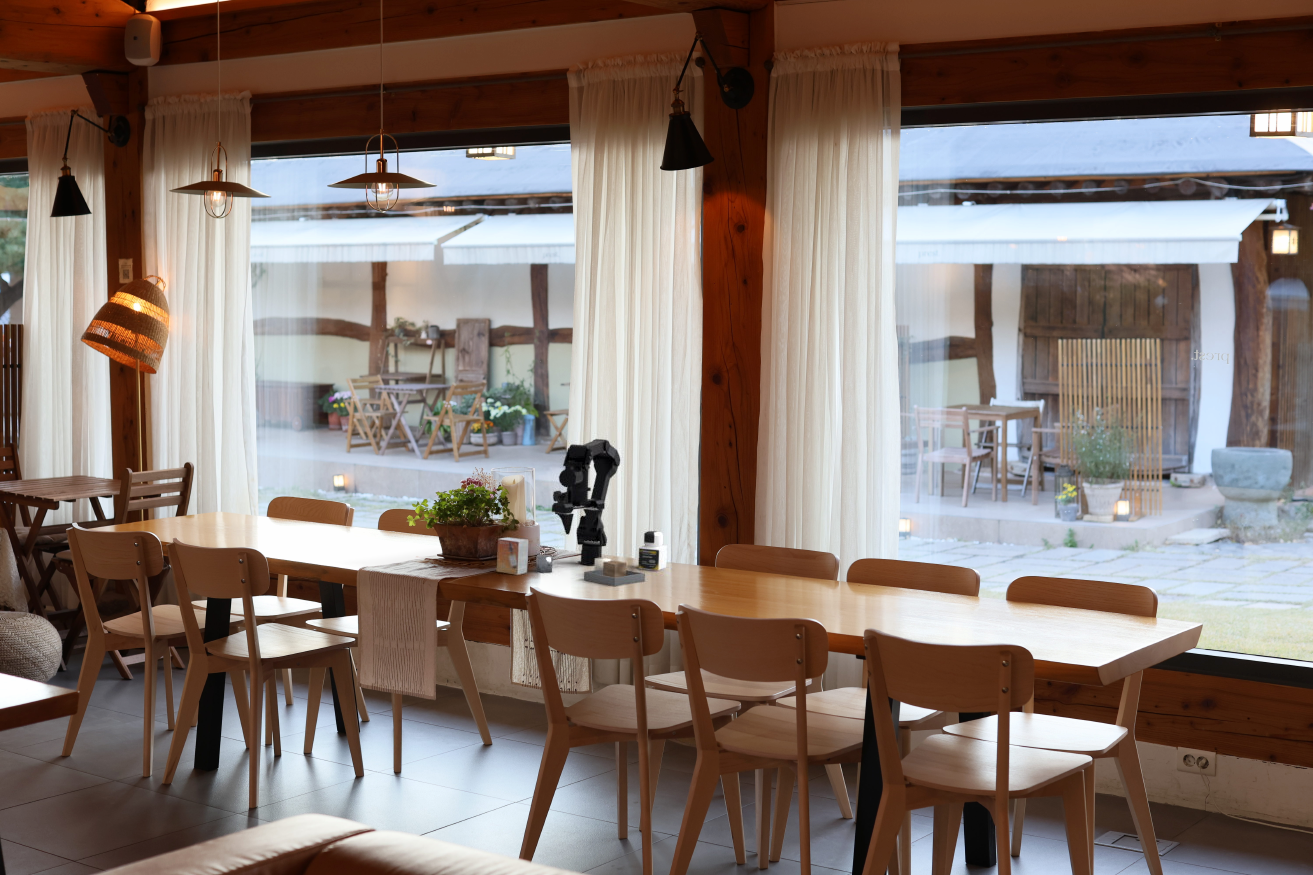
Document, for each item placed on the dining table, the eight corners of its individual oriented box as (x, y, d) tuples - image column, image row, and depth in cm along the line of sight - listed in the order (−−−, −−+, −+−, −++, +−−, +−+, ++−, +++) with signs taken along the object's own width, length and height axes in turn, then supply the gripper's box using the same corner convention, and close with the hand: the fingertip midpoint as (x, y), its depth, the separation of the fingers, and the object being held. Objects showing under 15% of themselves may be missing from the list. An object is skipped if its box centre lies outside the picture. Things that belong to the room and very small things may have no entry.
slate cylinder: (544, 569, 410) (544, 554, 409) (555, 571, 406) (555, 556, 406) (532, 571, 406) (533, 555, 405) (543, 573, 402) (544, 557, 402)
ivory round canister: (602, 572, 408) (602, 557, 407) (613, 575, 404) (614, 559, 404) (591, 574, 404) (591, 558, 404) (602, 576, 401) (602, 560, 400)
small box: (496, 572, 402) (497, 538, 401) (506, 569, 407) (507, 536, 406) (517, 575, 398) (518, 541, 398) (527, 572, 403) (528, 539, 402)
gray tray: (613, 574, 404) (614, 567, 404) (644, 581, 396) (644, 573, 395) (583, 579, 395) (584, 571, 394) (614, 586, 386) (615, 578, 386)
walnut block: (614, 576, 399) (614, 560, 398) (625, 578, 395) (626, 562, 395) (602, 578, 395) (603, 561, 395) (614, 580, 392) (615, 564, 391)
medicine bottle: (637, 568, 416) (639, 532, 415) (646, 565, 423) (647, 529, 422) (658, 571, 414) (659, 534, 413) (666, 567, 420) (667, 531, 419)
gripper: (581, 479, 421) (580, 527, 422) (540, 483, 407) (538, 532, 408) (606, 483, 413) (605, 531, 415) (565, 487, 399) (563, 537, 401)
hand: (577, 532), depth 410 cm, fingers open, 9 cm apart
